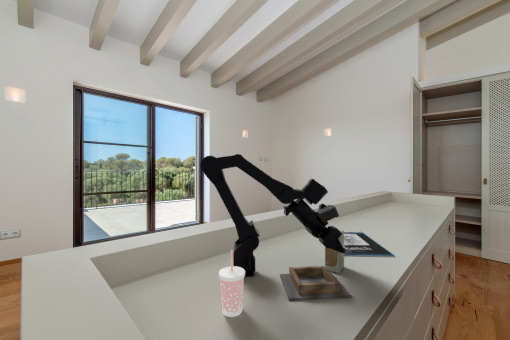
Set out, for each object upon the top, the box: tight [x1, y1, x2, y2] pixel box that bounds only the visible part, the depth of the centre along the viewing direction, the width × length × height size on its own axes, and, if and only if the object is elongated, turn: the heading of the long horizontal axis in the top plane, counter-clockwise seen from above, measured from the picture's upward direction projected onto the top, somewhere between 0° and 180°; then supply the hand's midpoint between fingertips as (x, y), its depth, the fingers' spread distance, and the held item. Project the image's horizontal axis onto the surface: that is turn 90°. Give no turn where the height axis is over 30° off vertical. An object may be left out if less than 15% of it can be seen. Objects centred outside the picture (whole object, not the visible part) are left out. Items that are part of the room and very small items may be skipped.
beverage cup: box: [218, 249, 245, 318], centre depth 52 cm, size 6×6×14 cm
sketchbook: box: [344, 230, 395, 258], centre depth 98 cm, size 22×30×2 cm
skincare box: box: [324, 229, 345, 274], centre depth 73 cm, size 6×4×12 cm
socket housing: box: [279, 265, 353, 302], centre depth 62 cm, size 16×13×3 cm
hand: (338, 248), depth 73 cm, fingers closed on skincare box, 7 cm apart
